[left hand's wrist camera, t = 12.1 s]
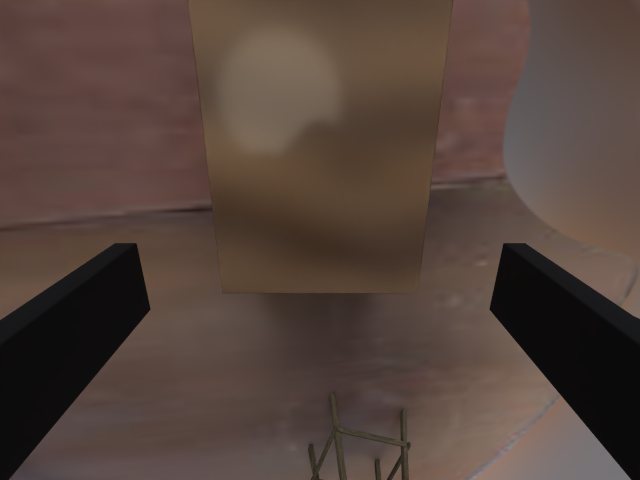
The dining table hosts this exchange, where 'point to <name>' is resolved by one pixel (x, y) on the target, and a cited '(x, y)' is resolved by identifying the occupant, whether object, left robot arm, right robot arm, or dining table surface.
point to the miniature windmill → (337, 430)
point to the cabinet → (320, 139)
